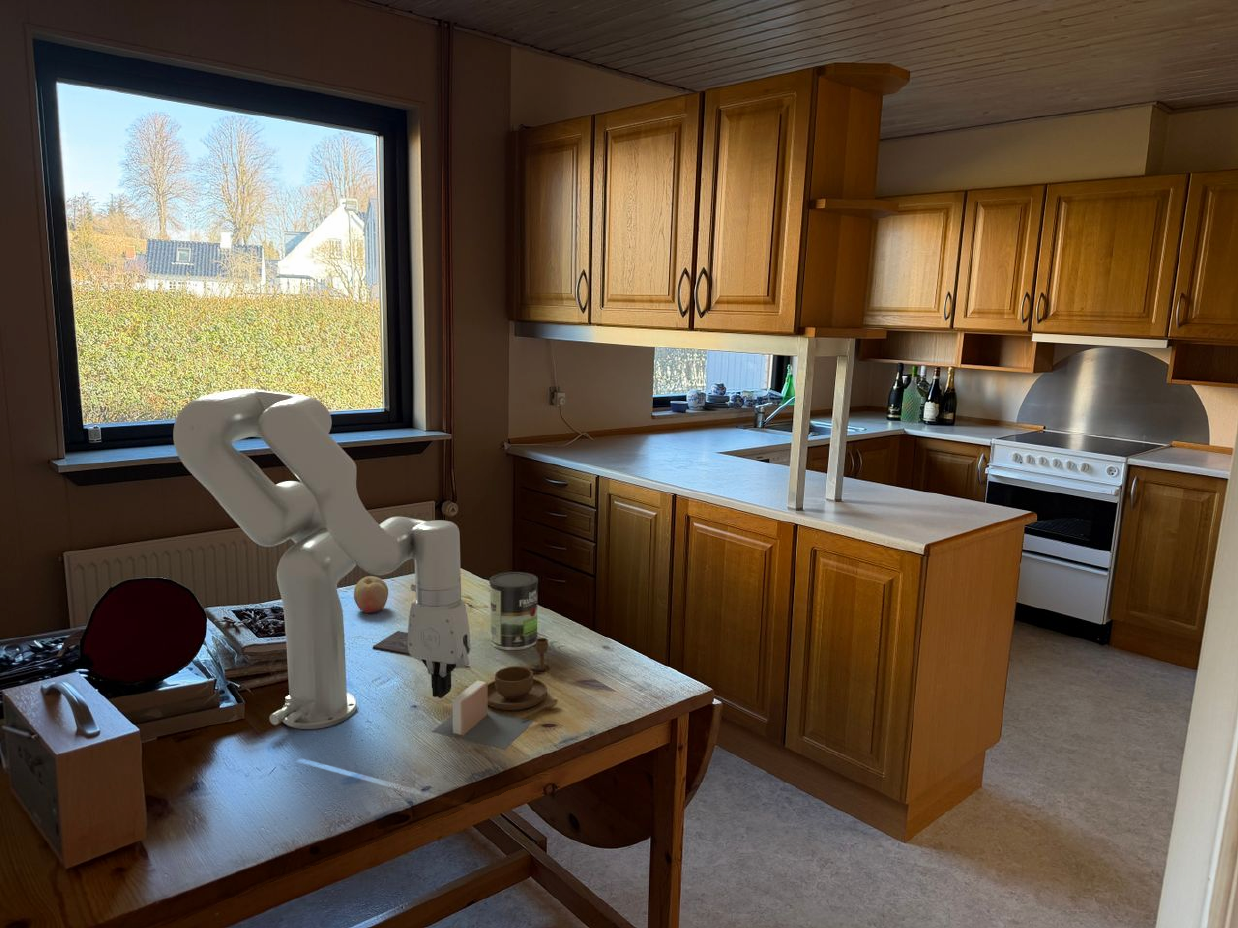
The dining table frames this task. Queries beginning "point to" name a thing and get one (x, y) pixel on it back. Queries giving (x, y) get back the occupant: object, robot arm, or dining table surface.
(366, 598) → the fruit
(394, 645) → the chocolate bar
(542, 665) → the place setting
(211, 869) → the dining table surface
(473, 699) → the tile
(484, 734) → the mat
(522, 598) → the coffee can
